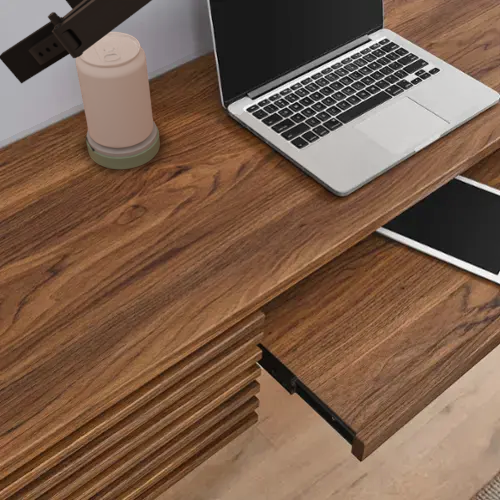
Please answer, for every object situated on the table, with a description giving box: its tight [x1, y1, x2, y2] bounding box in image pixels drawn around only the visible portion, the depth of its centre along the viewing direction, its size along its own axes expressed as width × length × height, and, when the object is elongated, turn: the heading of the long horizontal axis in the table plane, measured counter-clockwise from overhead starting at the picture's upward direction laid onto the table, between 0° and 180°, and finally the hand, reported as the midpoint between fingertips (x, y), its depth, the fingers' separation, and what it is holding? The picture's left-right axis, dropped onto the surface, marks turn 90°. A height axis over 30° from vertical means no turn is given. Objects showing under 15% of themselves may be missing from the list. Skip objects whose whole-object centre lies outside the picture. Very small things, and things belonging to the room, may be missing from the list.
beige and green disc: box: [85, 120, 161, 170], centre depth 97 cm, size 9×9×2 cm
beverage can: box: [75, 31, 154, 148], centre depth 92 cm, size 8×8×12 cm
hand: (42, 32), depth 68 cm, fingers open, 13 cm apart
